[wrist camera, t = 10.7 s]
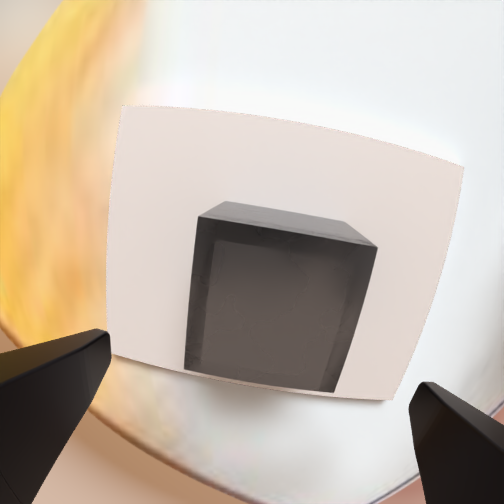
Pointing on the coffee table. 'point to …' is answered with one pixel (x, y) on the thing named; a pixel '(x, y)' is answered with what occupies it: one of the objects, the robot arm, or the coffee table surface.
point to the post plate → (277, 197)
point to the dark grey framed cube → (275, 296)
